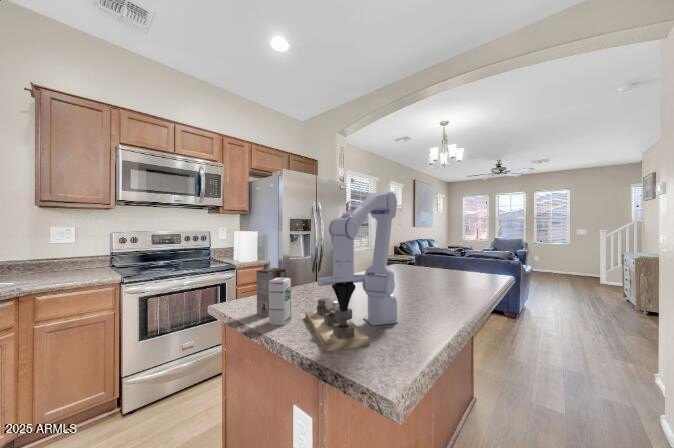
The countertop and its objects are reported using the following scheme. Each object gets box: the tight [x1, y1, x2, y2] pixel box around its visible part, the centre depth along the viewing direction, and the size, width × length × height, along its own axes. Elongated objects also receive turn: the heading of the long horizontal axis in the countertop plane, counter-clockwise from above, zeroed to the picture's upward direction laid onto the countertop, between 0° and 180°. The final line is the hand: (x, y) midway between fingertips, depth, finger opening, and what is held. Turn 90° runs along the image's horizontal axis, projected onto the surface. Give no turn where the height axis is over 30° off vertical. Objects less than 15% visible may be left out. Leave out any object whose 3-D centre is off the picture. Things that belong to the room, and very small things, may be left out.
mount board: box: [304, 304, 371, 352], centre depth 85 cm, size 12×28×4 cm, turn 18°
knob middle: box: [325, 298, 339, 317], centre depth 85 cm, size 5×5×4 cm
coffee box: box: [256, 267, 287, 318], centre depth 103 cm, size 9×6×16 cm
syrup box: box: [268, 277, 292, 326], centre depth 92 cm, size 6×6×14 cm
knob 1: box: [317, 297, 330, 308], centre depth 94 cm, size 5×5×4 cm
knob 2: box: [335, 307, 353, 328], centre depth 75 cm, size 5×5×4 cm
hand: (343, 310), depth 75 cm, fingers closed
